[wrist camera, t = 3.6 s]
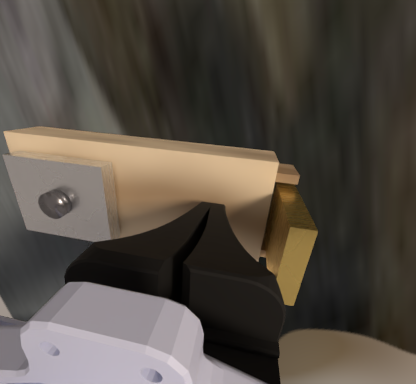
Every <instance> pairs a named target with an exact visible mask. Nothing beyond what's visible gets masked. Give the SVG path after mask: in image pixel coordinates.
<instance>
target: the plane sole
mask: <svg viewBox="0 0 416 384" xmlns="http://www.w3.org/2000/svg"><path fill="white" fill-rule="evenodd" d="M4 135H5V138H6V141H7V144H8V148H9V151H10V153H11V152H15V151H27V152H35V153H43V154H51V155H59V156H67V157H75V158H83V159H91V160H99V161H107V162H112V167H113V176H114V185H115V193H116V202H117V210H118V219H119V228H120V237H119V238H123V237H128V236H132V235H136V234H140V233H143V232H146V231H149V230H152V229H155V228H158V227H160V226H163V225H165V224H167V223H169V222H171V221H173V220H175V219H177V218H178V217H180V216H182V215H183V214H185V213H187V212H188V211H189V210H191V209H192V208H194V207H195V206H197V205H198V204H199V203H201V202H202V201H203V202H210V203H217V204H224V205H225V206H226V209H225V210H226V215H227V218H228V221H229V224H230V226H231V228H232V230H233V232H234V234H235V236H236V237H237V239H238V240H239V242H240V243H241V245H242V246H243V247H244V248H245V250H246V251H247V252H248V253H249V254H250V255H251V256H252V257H253V258H254V259H255V260H256V261H257V262H258V261H259V256H261V257H266V251H265V241H264V236H265V233H264V232H265V227H266V223H267V218H268V213H269V208H270V204H271V199H272V194H273V189H274V185H275V182H281V183H289V184H297V185H298V181H299V177H300V175H299V174H298V172H297V171H296V169H295V167H294V166H293V165H288V164H279V161H278V159H277V157H276V155H275V152H274V151H266V150H256V149H247V148H238V147H228V146H219V145H210V144H200V143H191V142H182V141H172V140H163V139H153V138H144V137H135V136H125V135H116V134H107V133H97V132H88V131H79V130H69V129H60V128H51V127H41V126H39V127H32V128H25V129H17V130H10V131H4Z"/></svg>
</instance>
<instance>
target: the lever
mask: <svg viewBox="0 0 416 384" xmlns="http://www.w3.org/2000/svg"><path fill="white" fill-rule="evenodd" d="M317 233H318V230H317V228H316V226H315V224H314V222H313V220H312V218H311V216H310V214H309V212H308V210H307V208H306V206H305V204H304V202H303V200H302V198H301V196H300V195H299V193H298V191H297V189H296V187H295V185H294V184H289V183H281V182H276V184H275V189H274V193H273V198H272V203H271V207H270V212H269V217H268V221H267V226H266V231H265V236H264V241H265V251H266V261H267V269H268V270H269V271H271V272H272V273H273V274H274V275H275V277H276V280H277V282H278V285H279V288H280V291H281V294H282V297H283V300H284V304H286V305H291V306H294V303H295V300H296V297H297V294H298V290H299V287H300V284H301V281H302V278H303V275H304V272H305V269H306V266H307V263H308V260H309V257H310V254H311V251H312V248H313V245H314V242H315V239H316V236H317Z"/></svg>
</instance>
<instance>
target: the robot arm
mask: <svg viewBox="0 0 416 384" xmlns="http://www.w3.org/2000/svg"><path fill="white" fill-rule="evenodd" d="M225 209H226V206H225V205H224V204H217V203H210V202H203V201H202V202H201V203H199V204H198V205H197V206H195V207H194V208H192V209H191V210H189V211H188V212H187V213H185V214H183V215H182V216H180V217H178V218H177V219H175V220H173V221H171V222H169V223H167V224H165V225H163V226H160V227H158V228H155V229H152V230H149V231H146V232H143V233H140V234H136V235H132V236H128V237H123V238H118V239H112V240H105V241H98V242H94V243H93V244H92V245H91V246H90V247H89V248H88V249H87V250H85V251H84V252H83V253H82V254H81V255H80V256H79V257H78V258H77V259H76V260H75V261H74V262H72V263H71V264H70V266H69V267H68V268H67V270H66V273H65V284H66V285H64V286H63V287H62V288H61V289H59V290H58V291H57V292H56V293H55V294H54V295H53V296H52V297H51V298H50V299H49V300H48V301H47V302H46V303H45V304H44V305H43V306H42V307H41V308H40V309H39V310H38V311H37V312H36V313H35V314H34V315H33V316H32V317H31V318H30V319H29V320H28V321H27V322H25V321H21V320H17V319H13V318H8V317H4V316H0V384H280V376H279V366H278V358H279V343H278V340H279V337H280V334H281V331H282V328H283V325H284V321H285V314H286V311H285V305H284V300H283V297H282V294H281V291H280V288H279V285H278V282H277V280H276V277H275V275H274V274H273V273H272V272H271V271H269V270H268V269H267V268H265V267H264V266H263V265H261V264H260V263H259V262H257V261H256V260H255V259H254V258H253V257H252V256H251V255H250V254H249V253H248V252H247V251H246V250H245V248H244V247H243V246H242V245H241V243H240V242H239V240H238V239H237V237H236V236H235V234H234V232H233V230H232V228H231V226H230V224H229V221H228V218H227V215H226V210H225Z"/></svg>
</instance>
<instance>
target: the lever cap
mask: <svg viewBox="0 0 416 384" xmlns="http://www.w3.org/2000/svg"><path fill="white" fill-rule="evenodd" d="M2 155H3V158H4V161H5V164H6V167H7V170H8V173H9V176H10V179H11V183H12V186H13V189H14V192H15V195H16V198H17V201H18V204H19V207H20V210H21V213H22V216H23V219H24V222H25V226H26V229H27V230H32V231H37V232H43V233H48V234H54V235H59V236H65V237H70V238H76V239H81V240H87V241H92V242H98V241H105V240H112V239H118V238H119V237H120V228H119V219H118V210H117V202H116V193H115V185H114V176H113V167H112V162H107V161H99V160H91V159H83V158H75V157H67V156H59V155H51V154H43V153H35V152H27V151H15V152H11V153H7V154H2Z"/></svg>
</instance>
